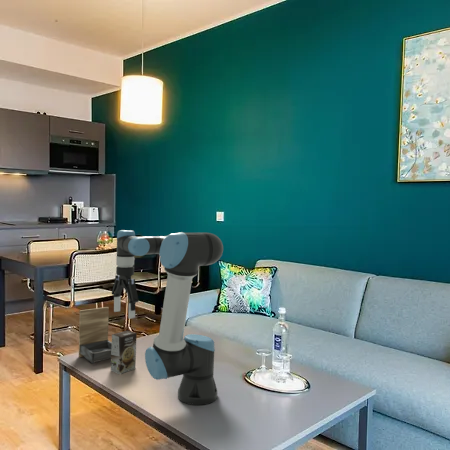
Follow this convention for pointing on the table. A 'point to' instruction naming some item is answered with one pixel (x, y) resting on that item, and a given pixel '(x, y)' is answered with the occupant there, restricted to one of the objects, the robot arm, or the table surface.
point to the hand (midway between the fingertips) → (124, 314)
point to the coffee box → (123, 352)
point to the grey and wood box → (94, 334)
